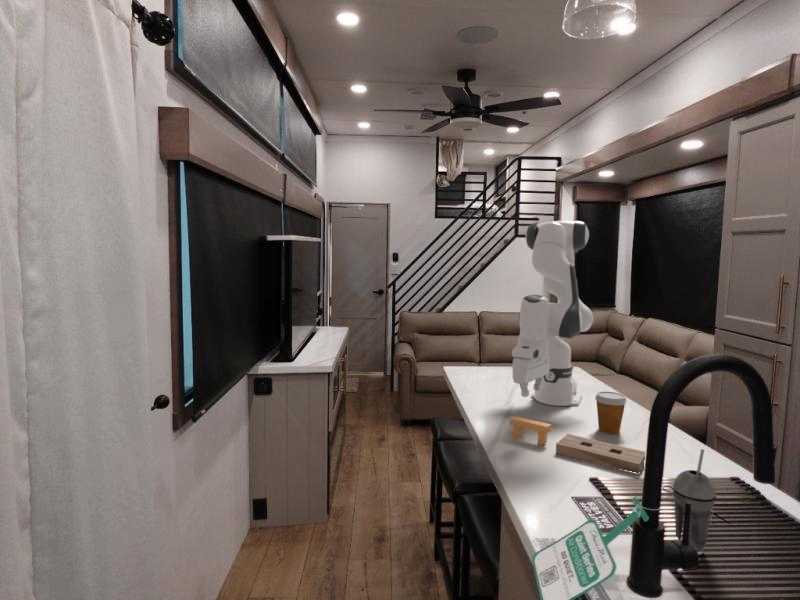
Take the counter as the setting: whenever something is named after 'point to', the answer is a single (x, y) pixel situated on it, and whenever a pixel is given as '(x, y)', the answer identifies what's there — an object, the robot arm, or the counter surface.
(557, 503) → the counter surface
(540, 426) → the orange piece
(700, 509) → the beverage cup
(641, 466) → the rail
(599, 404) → the disposable coffee cup
